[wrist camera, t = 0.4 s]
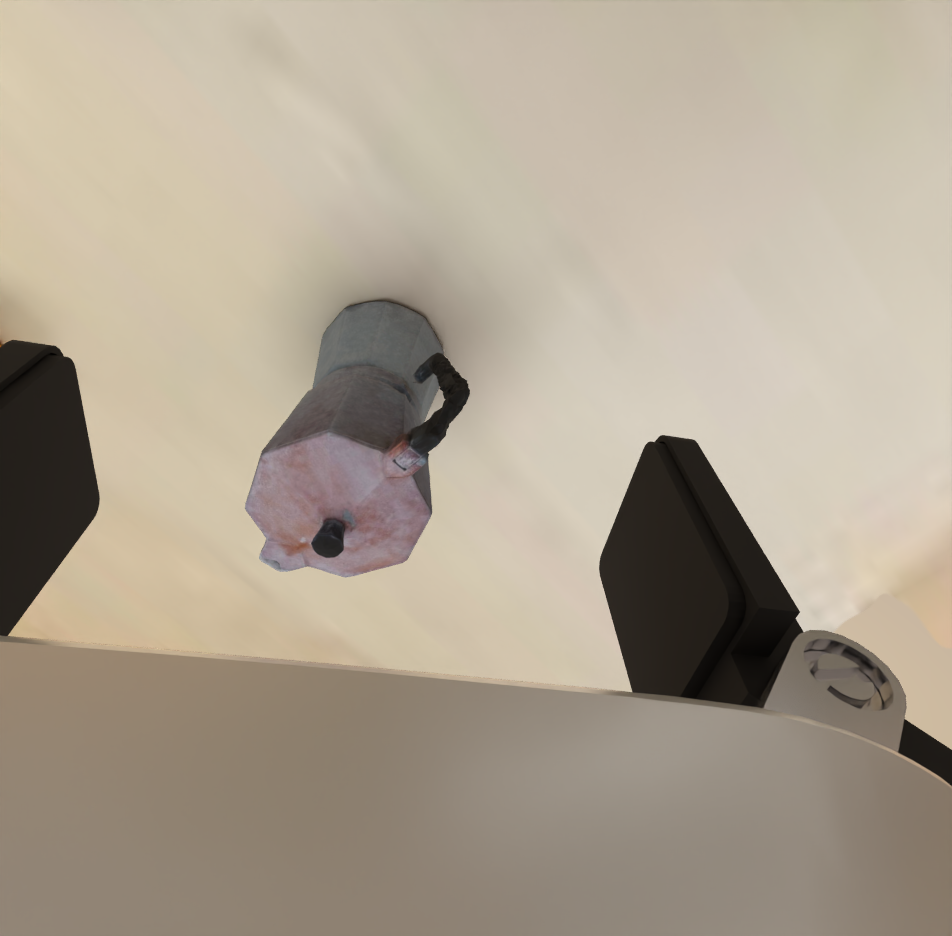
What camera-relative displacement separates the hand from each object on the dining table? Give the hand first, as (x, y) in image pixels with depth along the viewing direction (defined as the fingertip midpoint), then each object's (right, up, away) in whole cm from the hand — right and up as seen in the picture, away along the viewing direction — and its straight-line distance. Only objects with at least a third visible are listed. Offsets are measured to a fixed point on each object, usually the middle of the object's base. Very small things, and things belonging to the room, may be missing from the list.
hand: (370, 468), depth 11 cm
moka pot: (-5, +9, +35) cm, 36 cm away
